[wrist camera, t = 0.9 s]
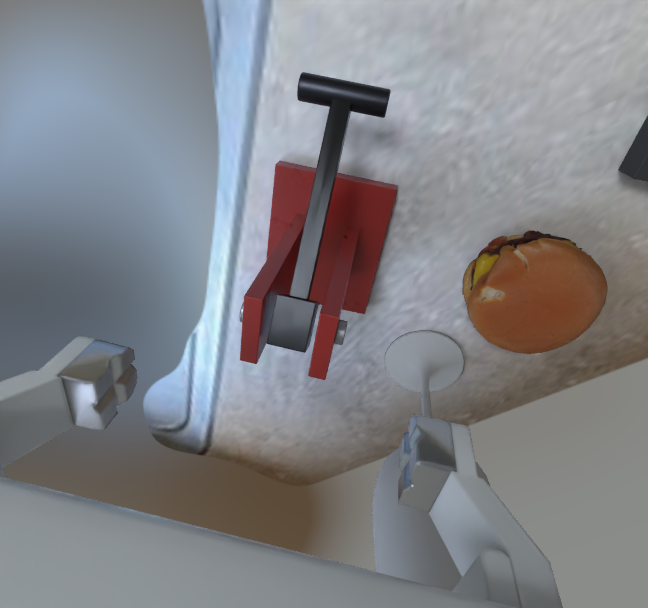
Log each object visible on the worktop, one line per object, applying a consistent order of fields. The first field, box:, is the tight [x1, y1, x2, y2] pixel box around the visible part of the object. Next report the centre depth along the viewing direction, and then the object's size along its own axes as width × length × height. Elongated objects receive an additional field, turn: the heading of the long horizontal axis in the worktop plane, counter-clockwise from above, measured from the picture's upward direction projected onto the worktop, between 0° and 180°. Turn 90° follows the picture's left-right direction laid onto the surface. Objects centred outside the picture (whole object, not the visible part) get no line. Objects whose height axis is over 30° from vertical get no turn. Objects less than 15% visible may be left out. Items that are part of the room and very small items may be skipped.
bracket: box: [240, 161, 397, 380], centre depth 28 cm, size 11×9×14 cm
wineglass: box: [373, 331, 490, 591], centre depth 30 cm, size 8×8×21 cm
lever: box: [267, 72, 391, 352], centre depth 23 cm, size 15×5×2 cm, turn 172°
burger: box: [463, 231, 607, 354], centre depth 31 cm, size 10×9×5 cm
